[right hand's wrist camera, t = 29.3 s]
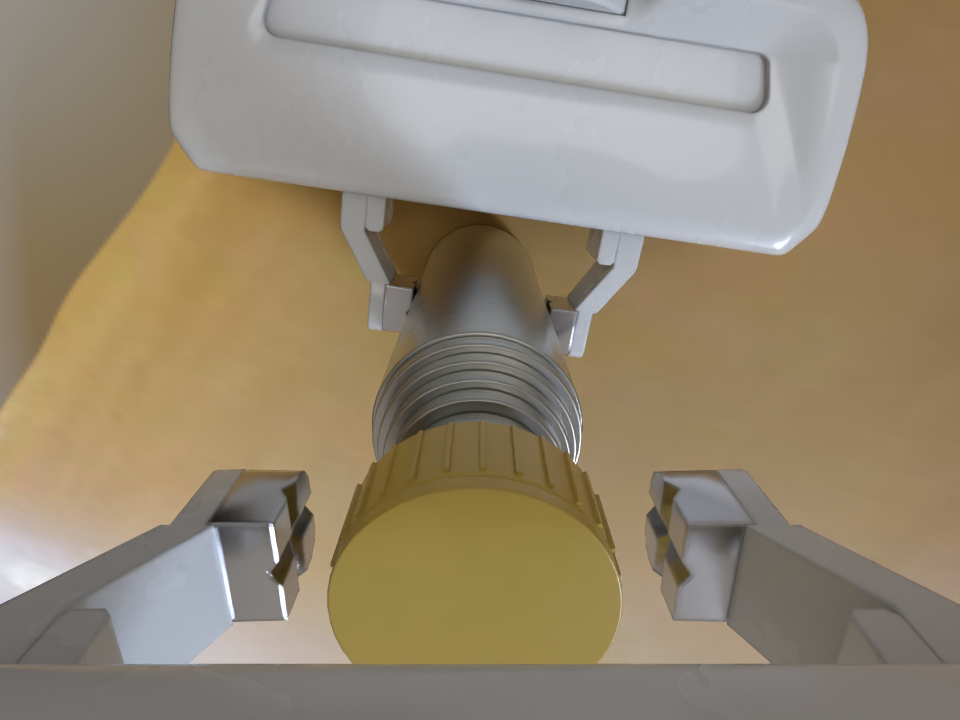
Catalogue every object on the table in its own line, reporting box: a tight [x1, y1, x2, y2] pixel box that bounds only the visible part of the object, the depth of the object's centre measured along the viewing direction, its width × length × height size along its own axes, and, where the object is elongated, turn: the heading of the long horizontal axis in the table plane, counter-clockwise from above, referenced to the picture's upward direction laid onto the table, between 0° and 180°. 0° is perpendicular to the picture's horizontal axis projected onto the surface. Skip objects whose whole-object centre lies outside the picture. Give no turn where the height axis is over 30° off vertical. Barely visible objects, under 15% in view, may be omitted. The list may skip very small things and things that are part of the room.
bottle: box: [372, 225, 583, 464], centre depth 18 cm, size 5×5×18 cm
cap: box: [327, 420, 623, 664], centre depth 9 cm, size 4×4×2 cm
